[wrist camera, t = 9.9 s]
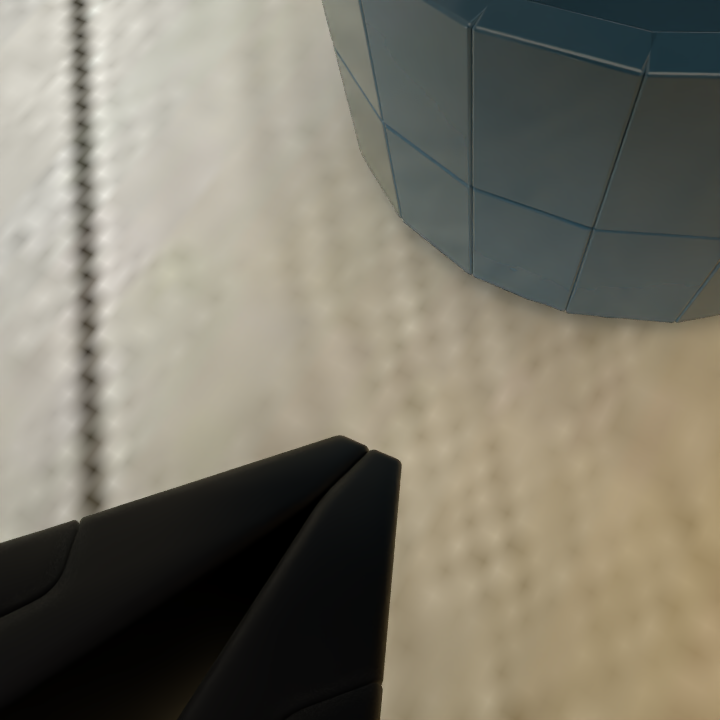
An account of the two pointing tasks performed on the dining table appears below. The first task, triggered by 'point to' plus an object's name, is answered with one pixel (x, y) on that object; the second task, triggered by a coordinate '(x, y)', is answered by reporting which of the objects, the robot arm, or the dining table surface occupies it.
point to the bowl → (549, 142)
